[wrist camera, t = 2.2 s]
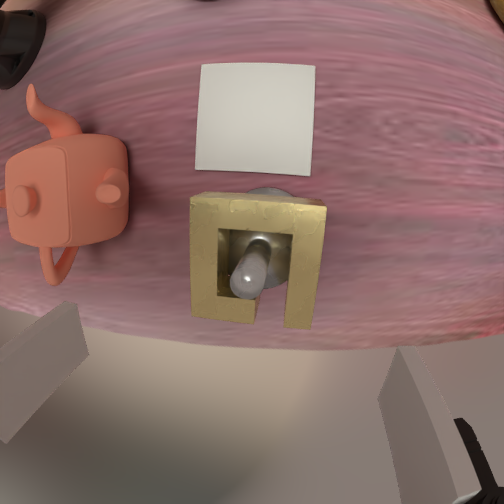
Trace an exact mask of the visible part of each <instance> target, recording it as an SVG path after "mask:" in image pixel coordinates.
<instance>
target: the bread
mask: <svg viewBox="0 0 504 504" xmlns="http://www.w3.org/2000/svg"><path fill="white" fill-rule="evenodd" d="M490 3H491V5H492V7H493V8H494V10H495V11H496V13H497V14H498V16H499V18H500V19H501V20H502V22H503V23H504V0H490Z"/></svg>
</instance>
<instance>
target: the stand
mask: <svg viewBox="0 0 504 504" xmlns="http://www.w3.org/2000/svg"><path fill="white" fill-rule="evenodd" d="M246 194H261V195H275V196H287V197H294V196H293V195H291V194H290V193H288V192H286V191H284V190H281V189H278V188H273V187H262V188H256V189H253V190H251V191H248V192H247V193H246ZM291 241H292V234H284V233H273V232H261V231H249V230H237V229H230V234H229V265H228V274H229V275H230V276H231V278H230V287H231V290H232V291H233V293H234V294H235V295H236V296H238V297H239V298H242V299H253V298H256V297H257V296H259V295H260V294H261V292H262V290H263V289H268V288H272V287H275V286H278V285H280V284H282V283H284V282H285V281H287V280H288V272H289V262H290V252H291Z"/></svg>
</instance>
